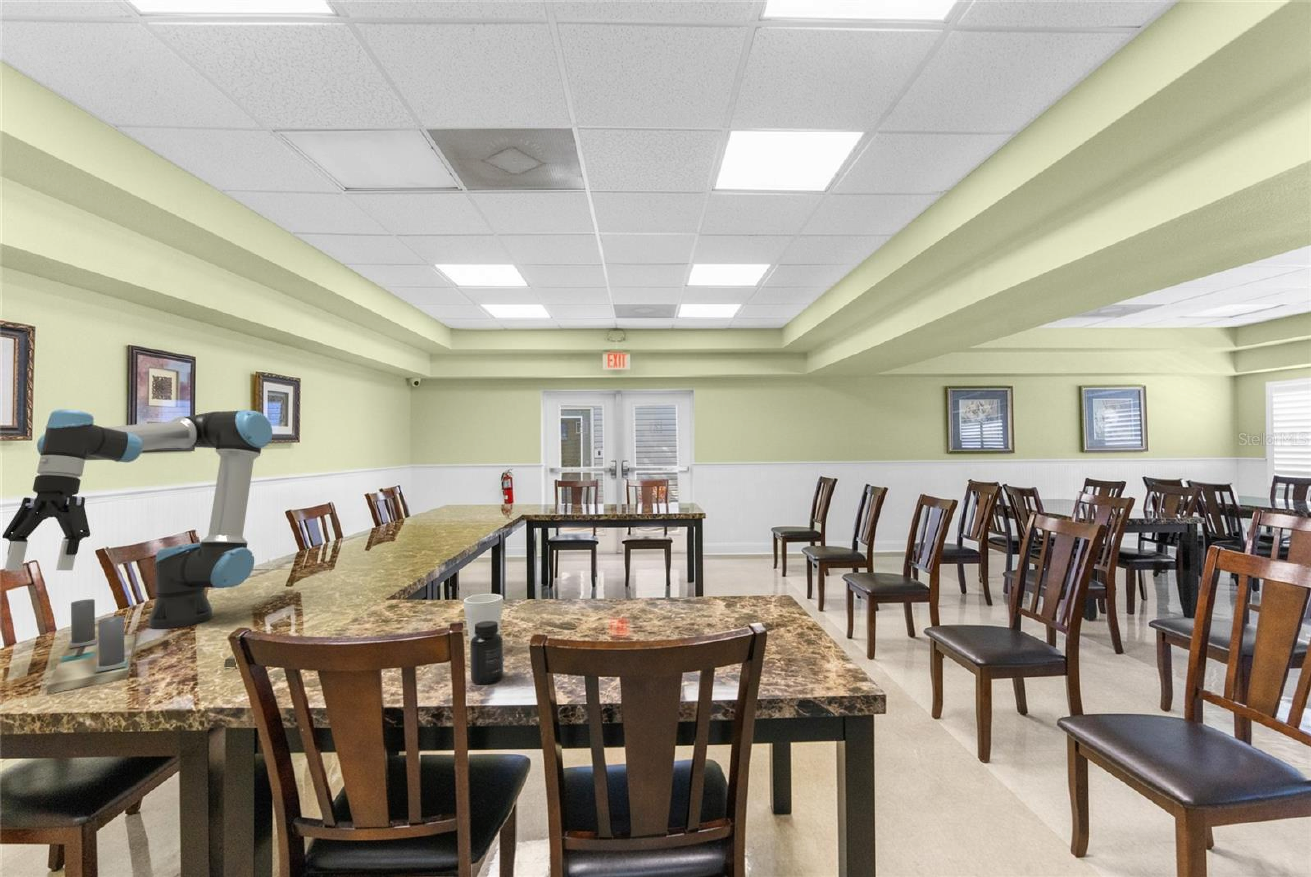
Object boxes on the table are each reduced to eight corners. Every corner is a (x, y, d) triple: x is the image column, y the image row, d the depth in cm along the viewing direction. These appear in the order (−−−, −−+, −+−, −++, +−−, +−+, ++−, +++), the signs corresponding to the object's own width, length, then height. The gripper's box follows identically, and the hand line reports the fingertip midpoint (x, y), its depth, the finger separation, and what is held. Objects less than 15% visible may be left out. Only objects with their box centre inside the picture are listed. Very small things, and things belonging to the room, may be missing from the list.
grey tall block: (127, 660, 141) (126, 614, 141) (125, 666, 137) (125, 618, 137) (97, 666, 138) (97, 618, 138) (95, 672, 134) (95, 623, 134)
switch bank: (135, 640, 164) (135, 633, 164) (128, 678, 136) (128, 669, 136) (69, 651, 156) (69, 643, 156) (47, 694, 128) (47, 684, 128)
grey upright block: (97, 639, 158) (97, 598, 158) (95, 643, 154) (95, 601, 154) (71, 643, 155) (70, 601, 155) (68, 648, 151) (68, 605, 151)
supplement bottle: (506, 672, 134) (505, 619, 134) (498, 685, 127) (497, 628, 128) (476, 673, 134) (475, 619, 134) (466, 685, 127) (465, 629, 128)
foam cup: (498, 657, 144) (497, 603, 145) (459, 658, 144) (458, 603, 145) (507, 644, 154) (506, 593, 154) (471, 645, 154) (470, 594, 154)
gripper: (-6, 475, 137) (-29, 571, 132) (87, 471, 133) (67, 569, 128) (32, 480, 144) (11, 571, 139) (121, 477, 140) (103, 570, 136)
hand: (38, 570), depth 134 cm, fingers open, 13 cm apart
